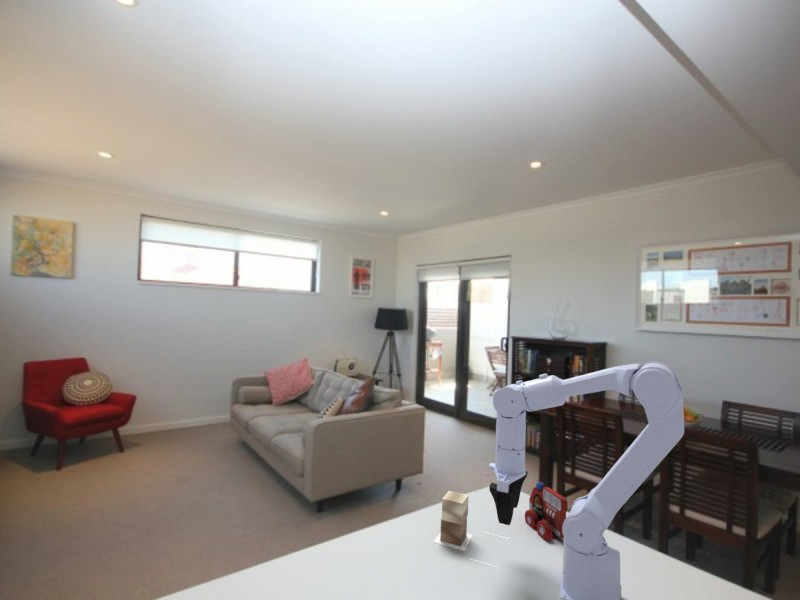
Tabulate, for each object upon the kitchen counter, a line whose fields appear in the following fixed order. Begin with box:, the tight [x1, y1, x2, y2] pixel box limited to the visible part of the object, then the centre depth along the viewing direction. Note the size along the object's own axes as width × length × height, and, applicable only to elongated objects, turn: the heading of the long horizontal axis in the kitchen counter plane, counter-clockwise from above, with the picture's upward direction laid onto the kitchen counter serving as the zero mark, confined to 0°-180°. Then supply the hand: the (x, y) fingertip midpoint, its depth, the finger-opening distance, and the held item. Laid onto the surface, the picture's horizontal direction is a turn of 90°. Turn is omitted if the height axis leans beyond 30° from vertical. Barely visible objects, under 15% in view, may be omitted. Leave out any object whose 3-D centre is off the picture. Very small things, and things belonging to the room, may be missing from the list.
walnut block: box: [440, 517, 468, 546], centre depth 90 cm, size 4×4×4 cm
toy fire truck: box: [524, 481, 569, 542], centre depth 95 cm, size 7×12×10 cm, turn 15°
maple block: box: [441, 490, 469, 525], centre depth 90 cm, size 4×4×4 cm
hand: (508, 514), depth 83 cm, fingers open, 7 cm apart
